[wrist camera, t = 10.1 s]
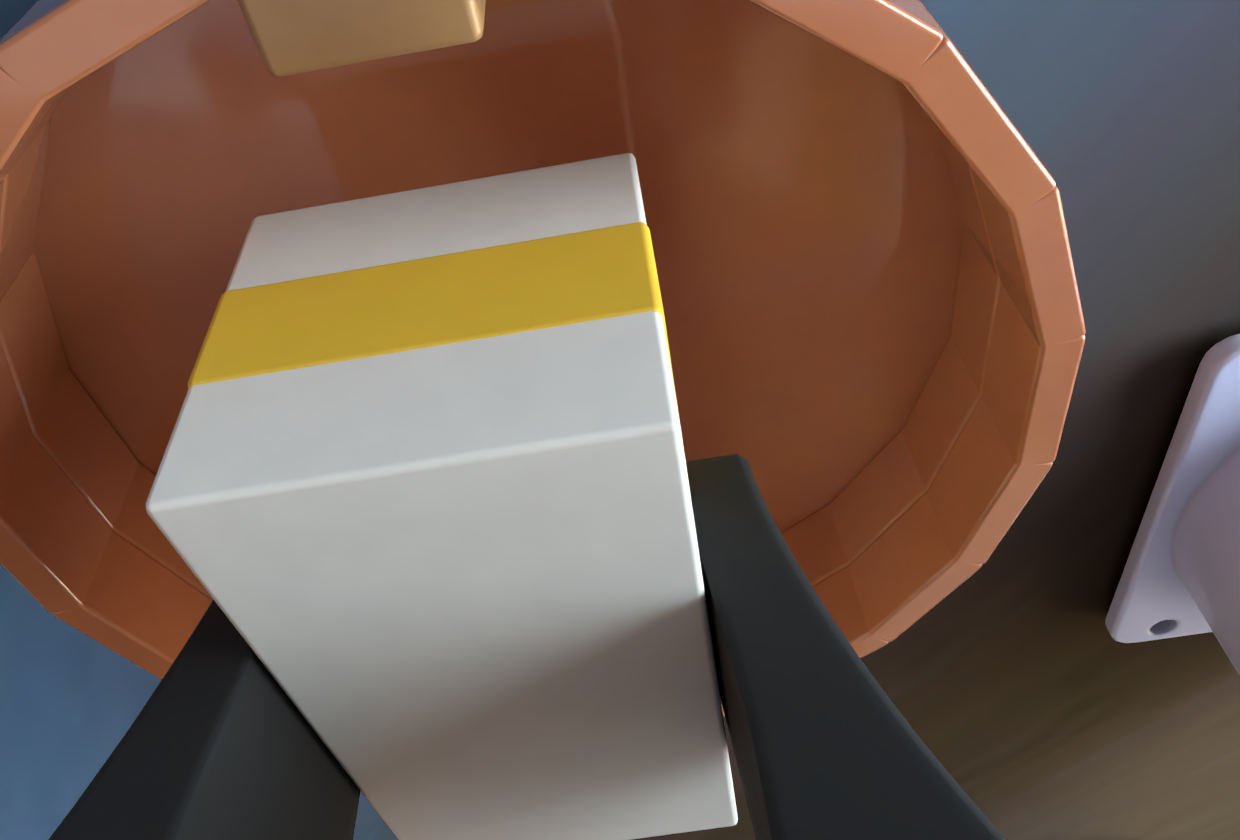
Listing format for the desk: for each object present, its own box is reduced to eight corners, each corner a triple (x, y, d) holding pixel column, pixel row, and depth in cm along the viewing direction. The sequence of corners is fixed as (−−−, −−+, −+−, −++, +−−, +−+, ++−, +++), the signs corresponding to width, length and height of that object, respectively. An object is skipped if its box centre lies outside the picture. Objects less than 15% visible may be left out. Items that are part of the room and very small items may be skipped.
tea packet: (635, 147, 10) (683, 422, 7) (698, 564, 15) (741, 828, 12) (247, 213, 10) (134, 507, 7) (438, 602, 15) (417, 870, 12)
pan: (1066, -332, 9) (1243, -277, 7) (941, 545, 18) (998, 689, 16) (-274, -74, 9) (-511, 55, 7) (263, 644, 18) (229, 796, 16)
